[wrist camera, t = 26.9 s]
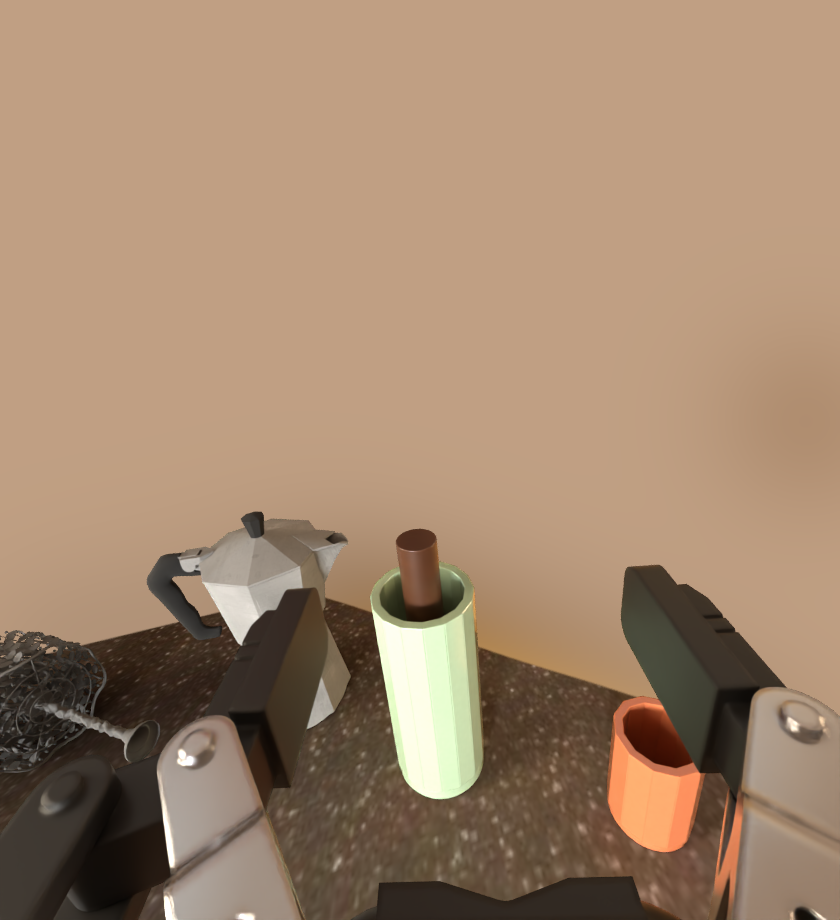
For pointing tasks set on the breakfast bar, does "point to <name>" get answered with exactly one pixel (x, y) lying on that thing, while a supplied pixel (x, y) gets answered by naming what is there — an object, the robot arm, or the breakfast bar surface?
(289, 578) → the coffeepot
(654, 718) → the pot
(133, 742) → the massage brush
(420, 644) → the vase
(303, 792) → the breakfast bar surface
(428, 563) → the bottle brush
